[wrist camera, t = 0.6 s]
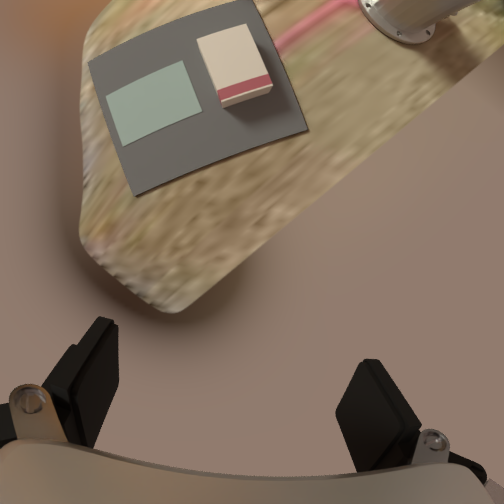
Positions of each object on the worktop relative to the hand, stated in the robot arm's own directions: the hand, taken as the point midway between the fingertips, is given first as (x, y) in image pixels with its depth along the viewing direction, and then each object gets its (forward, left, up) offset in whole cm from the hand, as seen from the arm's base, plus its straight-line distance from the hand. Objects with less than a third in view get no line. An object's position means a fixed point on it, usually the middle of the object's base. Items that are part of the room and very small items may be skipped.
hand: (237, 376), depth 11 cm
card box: (-6, -17, -26) cm, 32 cm away
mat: (-1, -17, -26) cm, 32 cm away
